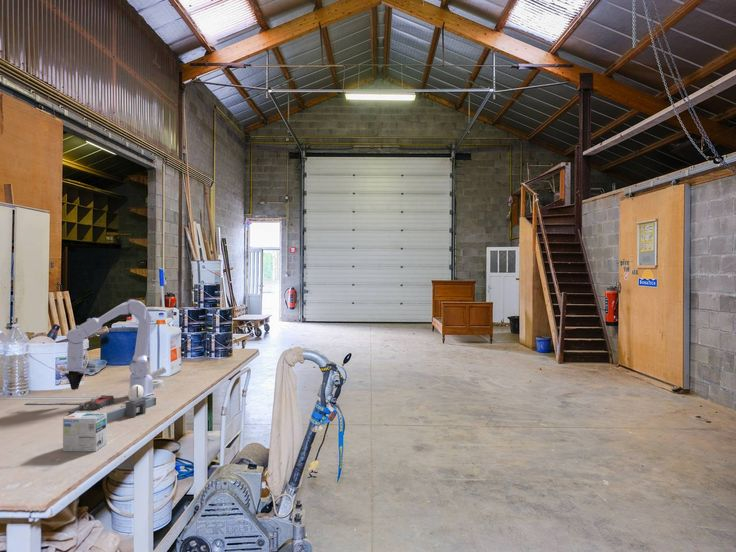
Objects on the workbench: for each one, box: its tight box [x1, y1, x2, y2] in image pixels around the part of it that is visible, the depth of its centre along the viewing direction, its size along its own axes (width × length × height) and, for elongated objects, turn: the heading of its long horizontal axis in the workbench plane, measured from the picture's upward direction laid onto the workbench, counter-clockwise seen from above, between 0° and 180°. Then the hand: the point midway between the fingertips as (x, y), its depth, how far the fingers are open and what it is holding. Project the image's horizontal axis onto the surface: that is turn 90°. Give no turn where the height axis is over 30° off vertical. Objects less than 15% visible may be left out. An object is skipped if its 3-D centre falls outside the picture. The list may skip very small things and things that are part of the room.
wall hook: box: [147, 366, 167, 389], centre depth 227 cm, size 9×10×10 cm
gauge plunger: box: [119, 403, 140, 414], centre depth 184 cm, size 2×8×2 cm, turn 70°
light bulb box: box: [62, 412, 108, 452], centre depth 149 cm, size 11×7×11 cm, turn 92°
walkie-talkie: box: [68, 394, 115, 414], centre depth 191 cm, size 9×4×20 cm
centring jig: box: [73, 385, 157, 422], centre depth 185 cm, size 27×18×12 cm
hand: (74, 389), depth 194 cm, fingers closed
